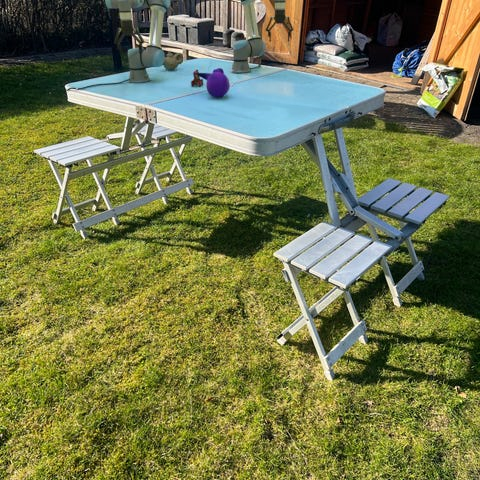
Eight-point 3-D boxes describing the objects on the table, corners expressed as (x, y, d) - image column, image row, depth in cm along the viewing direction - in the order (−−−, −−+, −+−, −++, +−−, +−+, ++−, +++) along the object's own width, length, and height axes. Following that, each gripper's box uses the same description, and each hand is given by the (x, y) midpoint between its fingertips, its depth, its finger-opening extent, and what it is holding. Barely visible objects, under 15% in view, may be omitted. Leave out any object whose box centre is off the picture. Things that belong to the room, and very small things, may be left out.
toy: (217, 89, 307) (229, 103, 286) (192, 85, 299) (203, 98, 279) (222, 66, 299) (235, 78, 278) (197, 61, 291) (209, 73, 271)
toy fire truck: (204, 83, 326) (203, 68, 321) (200, 87, 316) (199, 71, 311) (194, 83, 327) (193, 68, 322) (190, 87, 317) (189, 71, 312)
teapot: (162, 72, 368) (160, 52, 361) (157, 70, 377) (155, 51, 369) (186, 69, 377) (184, 50, 370) (180, 67, 386) (179, 48, 378)
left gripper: (146, 19, 291) (150, 54, 302) (110, 19, 294) (115, 54, 305) (143, 20, 285) (147, 55, 295) (105, 20, 287) (111, 55, 298)
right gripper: (297, 8, 321) (296, 40, 332) (263, 9, 325) (263, 40, 336) (297, 9, 315) (295, 42, 325) (262, 9, 318) (261, 42, 329)
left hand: (130, 55), depth 300 cm, fingers open, 13 cm apart
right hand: (279, 41), depth 330 cm, fingers open, 13 cm apart
